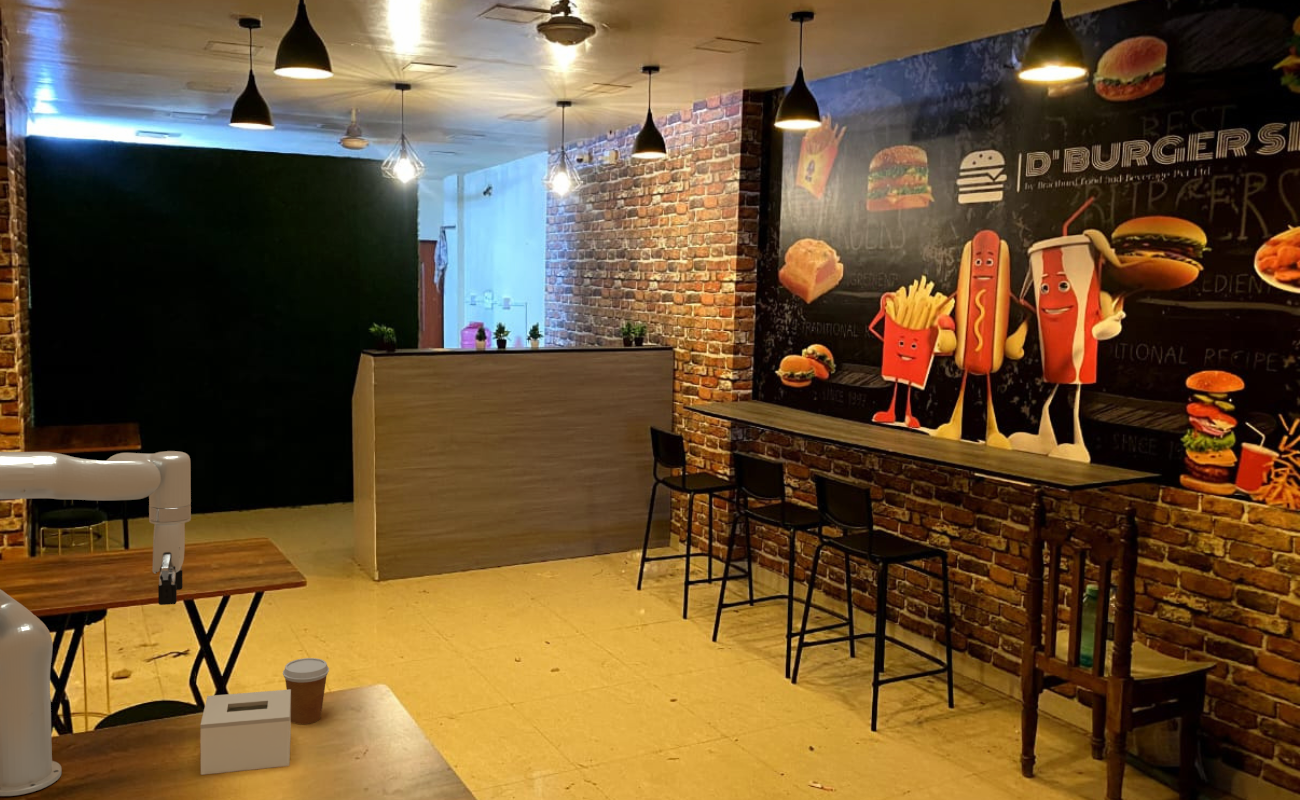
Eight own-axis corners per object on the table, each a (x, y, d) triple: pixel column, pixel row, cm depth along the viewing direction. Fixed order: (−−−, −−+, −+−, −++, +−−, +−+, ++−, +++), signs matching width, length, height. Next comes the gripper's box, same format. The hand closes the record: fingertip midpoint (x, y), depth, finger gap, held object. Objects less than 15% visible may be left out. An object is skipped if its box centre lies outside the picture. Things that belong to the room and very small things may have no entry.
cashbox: (200, 774, 196) (200, 724, 194) (207, 742, 209) (207, 695, 208) (289, 765, 201) (289, 717, 199) (290, 735, 214) (290, 689, 213)
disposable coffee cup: (314, 730, 217) (314, 675, 215) (273, 724, 219) (273, 670, 217) (336, 712, 226) (337, 660, 225) (297, 707, 228) (297, 655, 226)
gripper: (155, 504, 211) (156, 585, 213) (142, 524, 195) (143, 611, 197) (195, 503, 213) (195, 583, 215) (185, 523, 197) (186, 609, 199)
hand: (170, 596), depth 206 cm, fingers open, 9 cm apart
